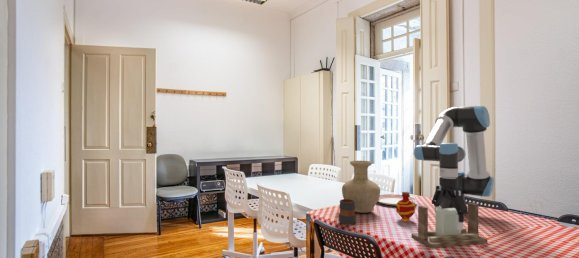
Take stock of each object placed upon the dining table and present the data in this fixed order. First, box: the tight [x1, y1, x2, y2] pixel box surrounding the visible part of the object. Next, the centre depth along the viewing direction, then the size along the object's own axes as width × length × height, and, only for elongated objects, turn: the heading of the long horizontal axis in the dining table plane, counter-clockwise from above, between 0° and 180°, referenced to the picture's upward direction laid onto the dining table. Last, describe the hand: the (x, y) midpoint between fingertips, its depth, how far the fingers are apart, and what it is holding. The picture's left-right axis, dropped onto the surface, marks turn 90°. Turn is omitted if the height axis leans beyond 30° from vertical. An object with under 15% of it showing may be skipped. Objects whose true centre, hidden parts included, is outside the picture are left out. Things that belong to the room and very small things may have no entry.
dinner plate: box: [377, 193, 417, 207], centre depth 217 cm, size 27×27×3 cm
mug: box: [338, 198, 356, 226], centre depth 173 cm, size 9×12×12 cm
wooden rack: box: [411, 202, 488, 249], centre depth 145 cm, size 28×14×16 cm, turn 103°
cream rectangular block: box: [434, 208, 461, 236], centre depth 145 cm, size 10×4×12 cm, turn 103°
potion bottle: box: [395, 191, 417, 222], centre depth 176 cm, size 10×10×15 cm
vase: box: [341, 160, 381, 214], centre depth 194 cm, size 22×22×30 cm
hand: (448, 224), depth 145 cm, fingers open, 13 cm apart
